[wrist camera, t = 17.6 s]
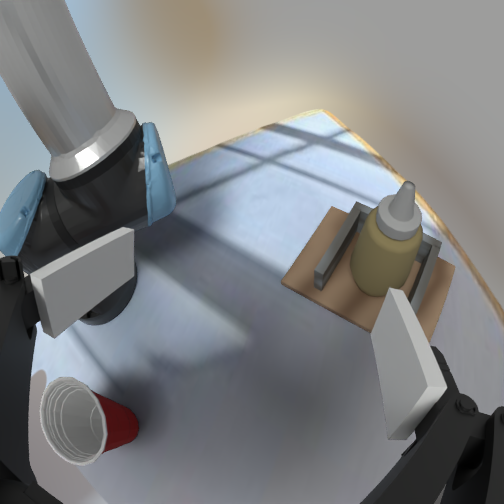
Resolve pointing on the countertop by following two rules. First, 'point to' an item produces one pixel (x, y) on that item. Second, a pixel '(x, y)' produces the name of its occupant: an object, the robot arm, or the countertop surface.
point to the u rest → (344, 286)
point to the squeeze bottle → (388, 243)
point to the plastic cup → (83, 421)
